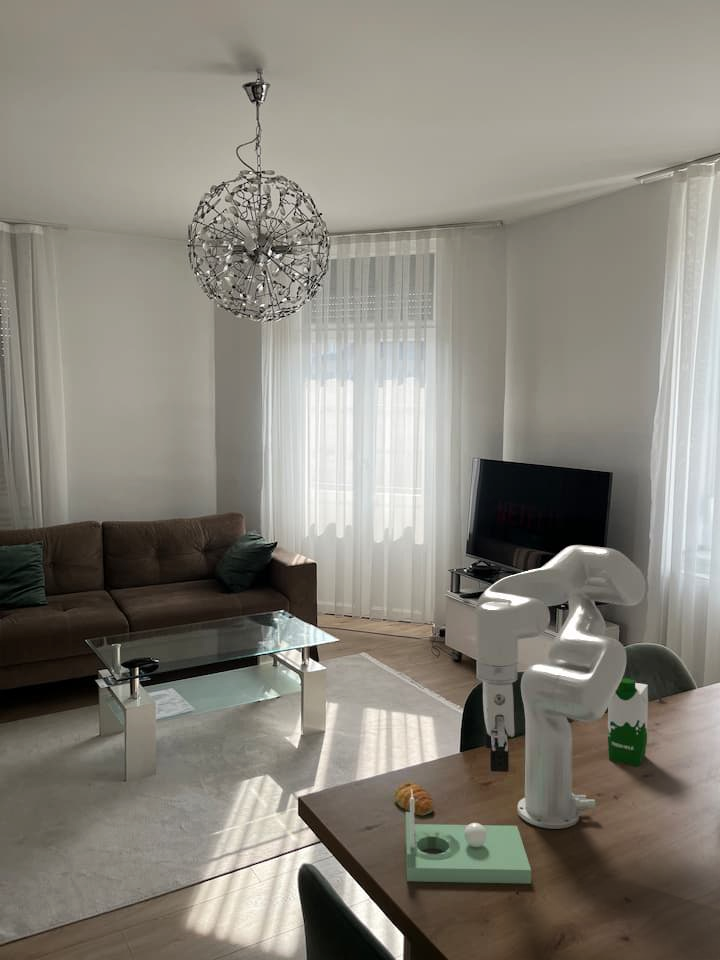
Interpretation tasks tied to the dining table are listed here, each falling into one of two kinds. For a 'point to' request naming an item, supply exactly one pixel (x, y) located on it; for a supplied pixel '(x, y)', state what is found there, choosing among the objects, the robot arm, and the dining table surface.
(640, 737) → the milk carton
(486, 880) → the mat
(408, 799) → the pastry
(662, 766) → the dining table surface
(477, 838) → the ball
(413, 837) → the flag
